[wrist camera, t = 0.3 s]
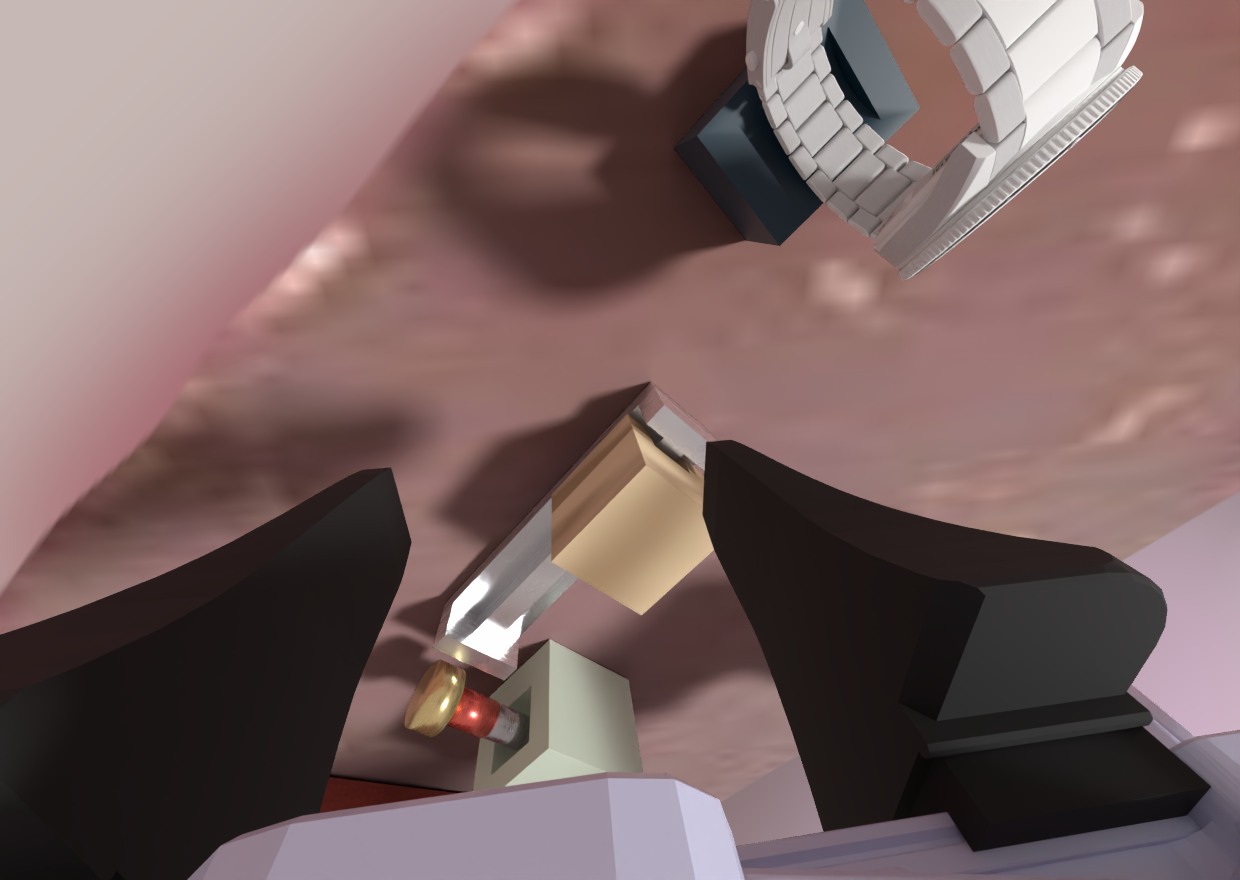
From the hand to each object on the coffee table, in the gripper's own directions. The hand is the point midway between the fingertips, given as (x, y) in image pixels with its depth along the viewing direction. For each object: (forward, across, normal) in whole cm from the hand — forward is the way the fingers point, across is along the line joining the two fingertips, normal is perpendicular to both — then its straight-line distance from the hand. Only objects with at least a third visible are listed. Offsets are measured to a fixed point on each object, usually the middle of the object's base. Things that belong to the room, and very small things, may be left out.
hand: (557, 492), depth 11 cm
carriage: (+9, -3, +5) cm, 10 cm away
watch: (+10, -8, -8) cm, 15 cm away
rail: (+10, 0, +8) cm, 13 cm away
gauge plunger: (+8, +5, +17) cm, 19 cm away
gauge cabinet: (+10, +2, +20) cm, 22 cm away
